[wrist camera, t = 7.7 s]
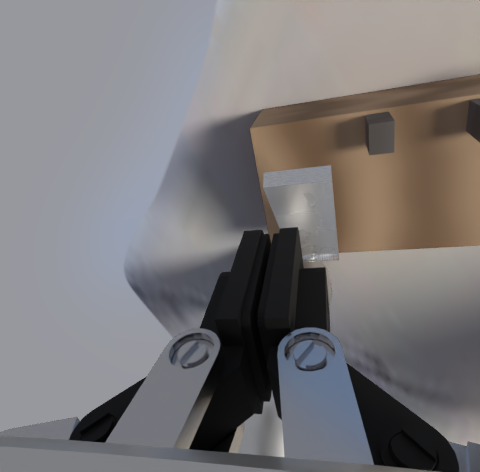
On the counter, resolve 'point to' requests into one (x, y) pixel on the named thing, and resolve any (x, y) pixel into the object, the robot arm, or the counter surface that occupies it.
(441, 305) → the counter surface
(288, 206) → the strap
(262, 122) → the block
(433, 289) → the counter surface
